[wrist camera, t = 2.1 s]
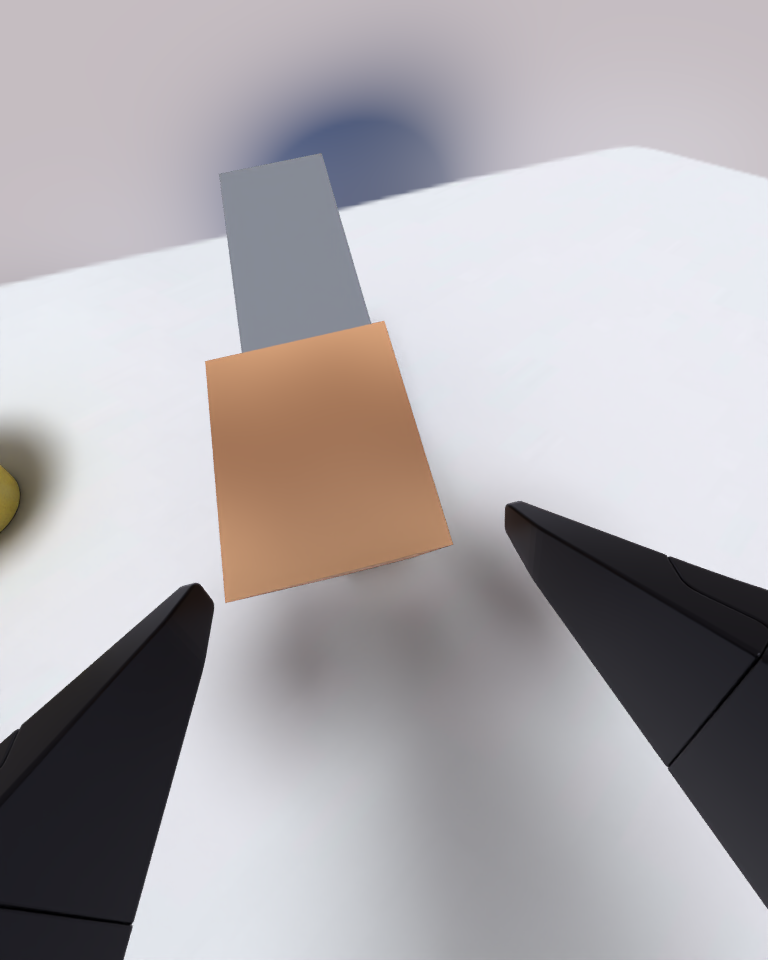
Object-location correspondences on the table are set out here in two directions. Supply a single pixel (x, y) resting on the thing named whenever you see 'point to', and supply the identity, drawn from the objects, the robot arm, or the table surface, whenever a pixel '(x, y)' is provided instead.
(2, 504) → the yellow bowl
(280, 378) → the wooden post
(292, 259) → the grey flat block
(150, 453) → the table surface
